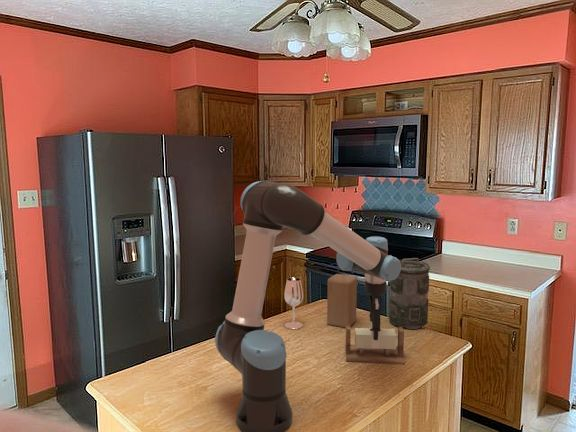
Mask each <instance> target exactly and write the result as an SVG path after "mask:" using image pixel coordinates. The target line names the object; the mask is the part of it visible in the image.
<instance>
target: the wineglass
mask: <svg viewBox="0 0 576 432" xmlns="http://www.w3.org/2000/svg"><path fill="white" fill-rule="evenodd" d="M302 284H303V283H302V280H301V278H299V277H288V278H287V279H286V283H285V288H284V294H283V295H284V297H283V298H284V300H285V302H286V304H287V305H289V306H291V308H292V321H287V322H286V323H284V327H285V328H287V329H288V330H289V329H291V330H299V329H301V328H302V327H303V326H304V324H303V323H301V322H300V321H296V320H295V318H296V317H295V314H296V313H295V311H296V310H295V309H296V307H297V306H299V305H300V304H301V303H302V302H303V299H304V292H303V286H302Z"/></svg>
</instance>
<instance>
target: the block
mask: <svg viewBox="0 0 576 432" xmlns="http://www.w3.org/2000/svg"><path fill="white" fill-rule="evenodd" d="M357 288H358V277H357V276H355V275H348V274H341V273H340V274H339V273H335V274H334V275H332V276H331V277H329V278H327V296H326V297H327V298H326V300H327V301H326V302H327V303H326V306H327V307H326V310H327V311H326V320H327V321H326V322H327V325H330V326H334V327H339V328H340V327H341V328H345V329H346V325H350V327H351V326H353V324H354V323H355V322H356V321H357V297H358V296H357V295H358V291H357Z"/></svg>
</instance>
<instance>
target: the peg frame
mask: <svg viewBox="0 0 576 432" xmlns="http://www.w3.org/2000/svg"><path fill="white" fill-rule="evenodd" d="M351 334H352V329H351V326H350V325H346V328H345V344H344V345H345V362H347V363H365V364H366V363H368V364H369V363H370V364H390V365H406V361H405V359H404V345H405V329H404V327H400V326H397V345H396V349H368V348H356V346H355V344H351V339H352V338H351Z"/></svg>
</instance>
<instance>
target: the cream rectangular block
mask: <svg viewBox="0 0 576 432" xmlns="http://www.w3.org/2000/svg"><path fill="white" fill-rule="evenodd" d="M370 329H372V328H370V327H369V328H367V327H366V328H365V327H362V328H361V327H355V328H354V345H355V346H356V348H368V349H396V347H397V340H398V334H396V330H395V328H380V329H381V330H380V337H379V348H371V334H372V331H370Z"/></svg>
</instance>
